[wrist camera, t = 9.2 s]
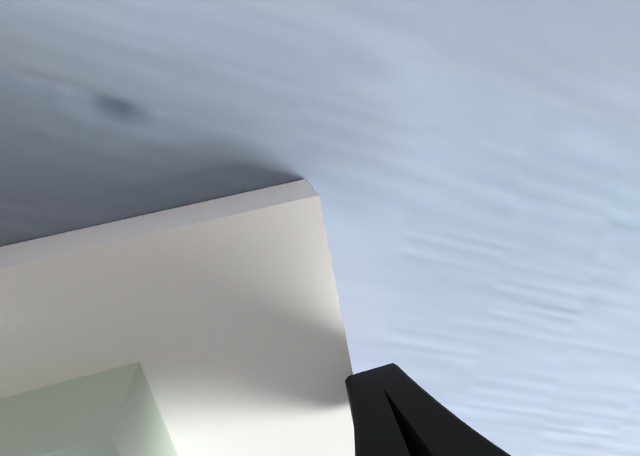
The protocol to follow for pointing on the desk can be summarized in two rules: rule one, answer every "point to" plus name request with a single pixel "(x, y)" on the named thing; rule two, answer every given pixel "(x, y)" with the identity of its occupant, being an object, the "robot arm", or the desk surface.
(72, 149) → the desk surface
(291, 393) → the white board
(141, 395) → the sage-green tile
